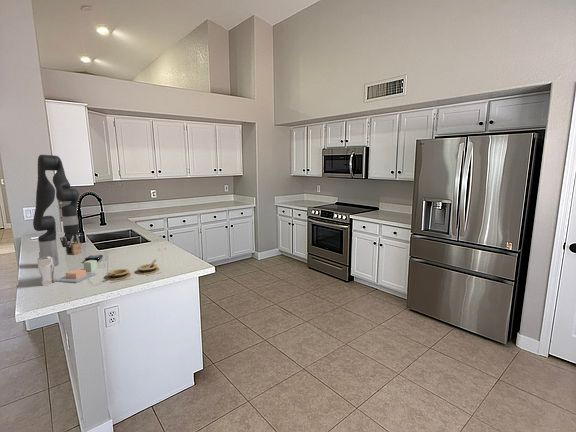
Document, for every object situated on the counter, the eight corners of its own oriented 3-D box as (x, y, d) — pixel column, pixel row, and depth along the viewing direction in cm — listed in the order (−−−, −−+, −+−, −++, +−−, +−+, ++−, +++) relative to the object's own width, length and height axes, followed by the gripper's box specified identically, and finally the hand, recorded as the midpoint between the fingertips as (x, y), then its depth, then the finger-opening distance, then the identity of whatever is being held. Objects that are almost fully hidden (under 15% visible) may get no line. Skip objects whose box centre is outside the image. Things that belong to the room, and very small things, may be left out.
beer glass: (59, 281, 177) (56, 256, 175) (50, 285, 170) (47, 259, 168) (46, 281, 177) (43, 256, 174) (37, 286, 170) (33, 259, 168)
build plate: (55, 281, 177) (54, 274, 176) (76, 273, 191) (75, 267, 190) (76, 283, 174) (75, 276, 174) (96, 274, 188) (95, 268, 187)
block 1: (66, 254, 178) (65, 244, 178) (74, 252, 183) (73, 242, 182) (74, 255, 177) (73, 245, 177) (81, 253, 182) (80, 243, 181)
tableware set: (155, 266, 207) (154, 257, 206) (163, 273, 192) (163, 264, 191) (104, 275, 190) (103, 265, 189) (108, 284, 174) (107, 274, 173)
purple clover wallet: (84, 257, 212) (89, 254, 222) (84, 262, 212) (89, 259, 222) (99, 256, 214) (103, 254, 225) (99, 261, 215) (104, 258, 225)
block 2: (84, 271, 195) (83, 262, 194) (90, 269, 200) (90, 260, 199) (91, 271, 194) (90, 262, 193) (97, 269, 199) (96, 260, 198)
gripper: (75, 221, 185) (78, 249, 188) (53, 225, 171) (57, 255, 174) (86, 221, 184) (89, 249, 187) (65, 226, 170) (68, 256, 173)
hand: (73, 252), depth 180 cm, fingers closed on block 1, 5 cm apart
